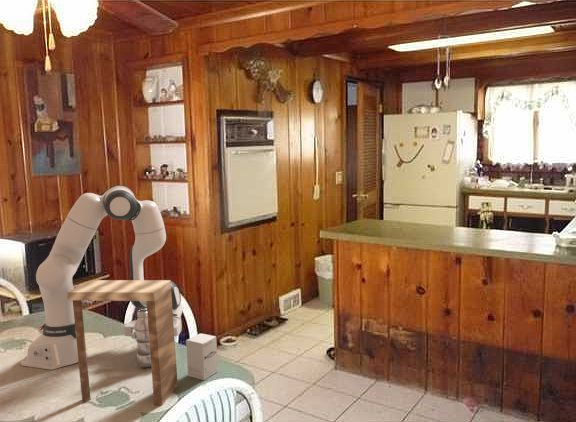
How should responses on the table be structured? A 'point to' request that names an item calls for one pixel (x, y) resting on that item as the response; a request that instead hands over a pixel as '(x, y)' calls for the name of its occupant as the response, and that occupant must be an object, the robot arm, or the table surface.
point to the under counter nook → (158, 325)
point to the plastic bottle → (142, 339)
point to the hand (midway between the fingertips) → (143, 336)
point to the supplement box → (202, 356)
